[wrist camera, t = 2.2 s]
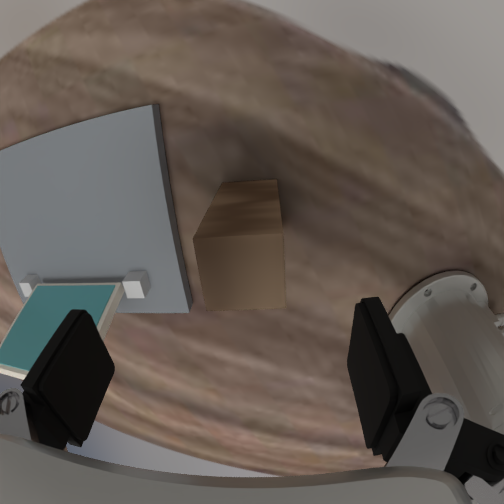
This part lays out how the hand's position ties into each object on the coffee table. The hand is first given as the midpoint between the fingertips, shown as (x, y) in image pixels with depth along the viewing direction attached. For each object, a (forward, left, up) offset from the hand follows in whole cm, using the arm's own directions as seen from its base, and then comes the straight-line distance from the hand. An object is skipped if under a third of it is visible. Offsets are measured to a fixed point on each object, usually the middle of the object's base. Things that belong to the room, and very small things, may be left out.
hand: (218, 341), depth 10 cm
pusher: (0, 0, -15) cm, 15 cm away
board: (+16, 0, -15) cm, 21 cm away
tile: (+16, +7, -8) cm, 19 cm away
